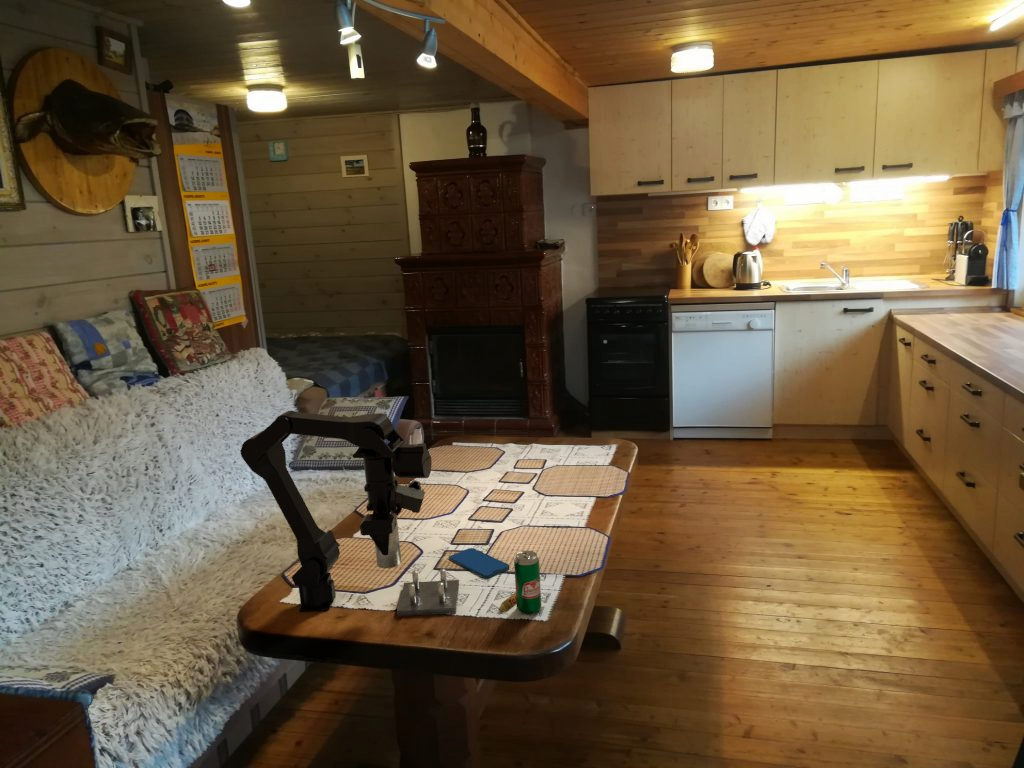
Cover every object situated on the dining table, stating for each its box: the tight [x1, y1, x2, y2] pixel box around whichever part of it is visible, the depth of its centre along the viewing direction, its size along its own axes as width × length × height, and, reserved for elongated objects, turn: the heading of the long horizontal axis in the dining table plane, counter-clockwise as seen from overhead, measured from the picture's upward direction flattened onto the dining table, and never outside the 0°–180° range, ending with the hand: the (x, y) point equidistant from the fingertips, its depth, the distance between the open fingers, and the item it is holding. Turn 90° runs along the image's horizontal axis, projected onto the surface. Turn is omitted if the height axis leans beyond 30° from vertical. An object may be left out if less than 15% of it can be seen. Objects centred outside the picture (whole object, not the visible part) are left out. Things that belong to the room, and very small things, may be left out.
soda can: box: [513, 550, 542, 615], centre depth 154 cm, size 5×5×12 cm
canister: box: [374, 513, 402, 569], centre depth 156 cm, size 5×5×10 cm
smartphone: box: [448, 547, 510, 579], centre depth 177 cm, size 7×1×15 cm
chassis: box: [396, 568, 460, 617], centre depth 161 cm, size 12×12×5 cm
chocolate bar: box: [498, 591, 517, 613], centre depth 161 cm, size 3×12×2 cm, turn 146°
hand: (387, 549), depth 156 cm, fingers closed on canister, 5 cm apart
